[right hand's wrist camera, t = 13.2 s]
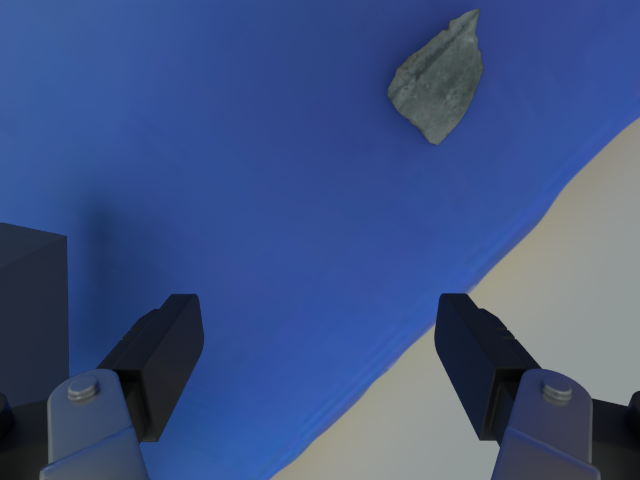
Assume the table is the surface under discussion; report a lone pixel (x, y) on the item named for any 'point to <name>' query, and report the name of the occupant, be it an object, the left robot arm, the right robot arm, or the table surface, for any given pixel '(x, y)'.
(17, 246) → the box
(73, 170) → the table surface
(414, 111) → the stone
